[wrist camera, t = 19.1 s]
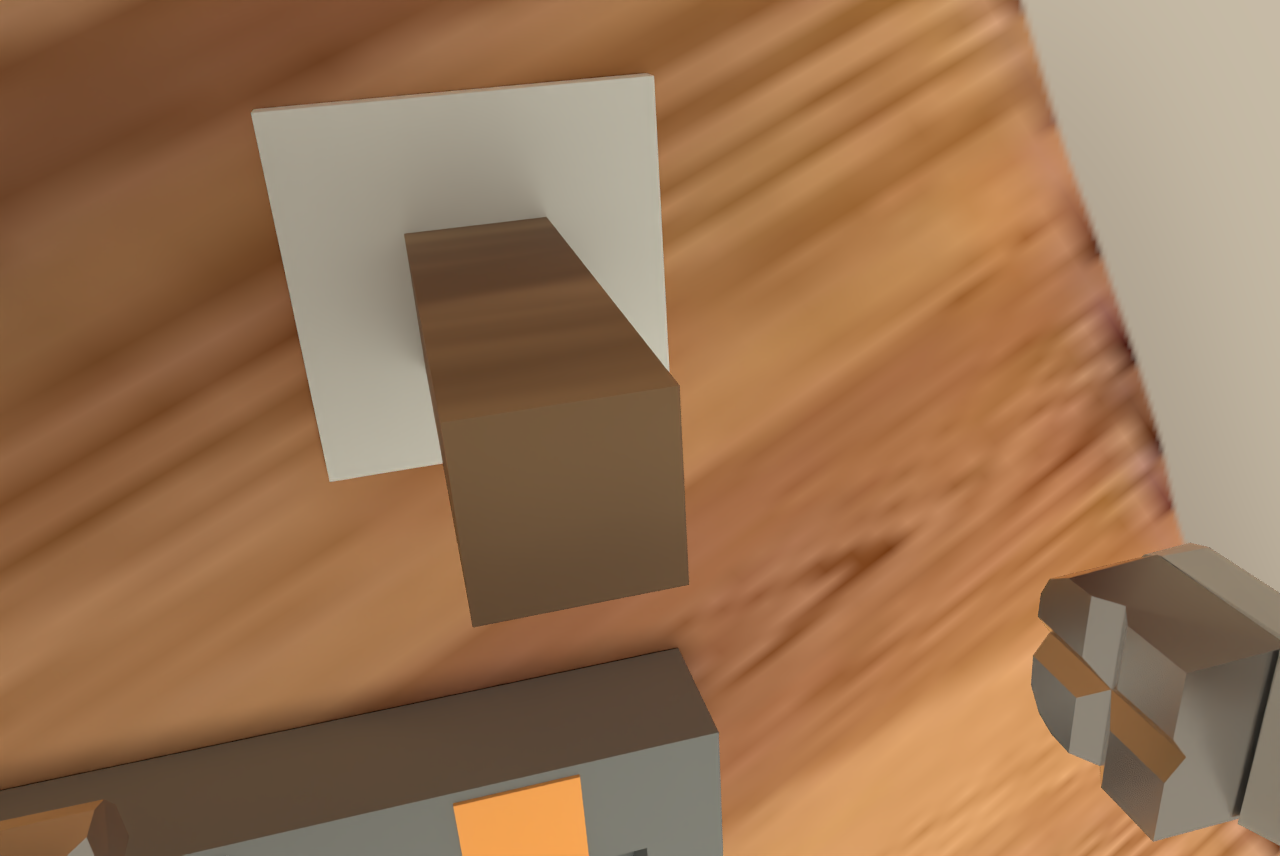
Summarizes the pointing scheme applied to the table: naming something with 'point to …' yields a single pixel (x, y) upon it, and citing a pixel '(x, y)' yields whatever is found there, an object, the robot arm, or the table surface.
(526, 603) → the brown wooden beam
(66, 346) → the table surface
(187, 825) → the switch panel
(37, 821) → the robot arm
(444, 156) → the pad
